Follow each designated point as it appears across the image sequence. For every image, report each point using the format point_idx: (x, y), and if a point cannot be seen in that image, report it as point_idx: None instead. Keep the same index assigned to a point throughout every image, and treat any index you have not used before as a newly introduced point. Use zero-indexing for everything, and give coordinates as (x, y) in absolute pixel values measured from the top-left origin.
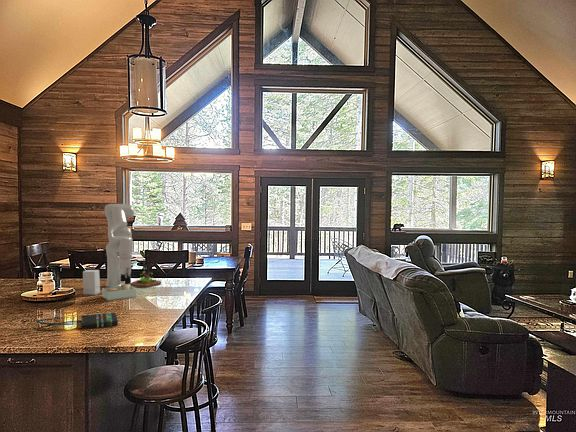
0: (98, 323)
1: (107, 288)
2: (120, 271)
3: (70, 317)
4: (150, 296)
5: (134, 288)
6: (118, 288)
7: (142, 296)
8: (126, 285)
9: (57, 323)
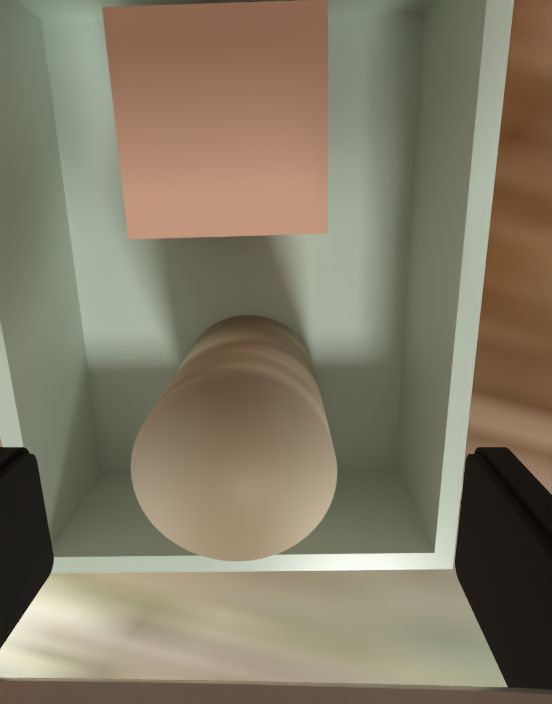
0: None
1: (476, 51)
2: None
3: None
4: (45, 630)
5: (73, 555)
6: (438, 328)
7: None
8: (133, 466)
9: None
